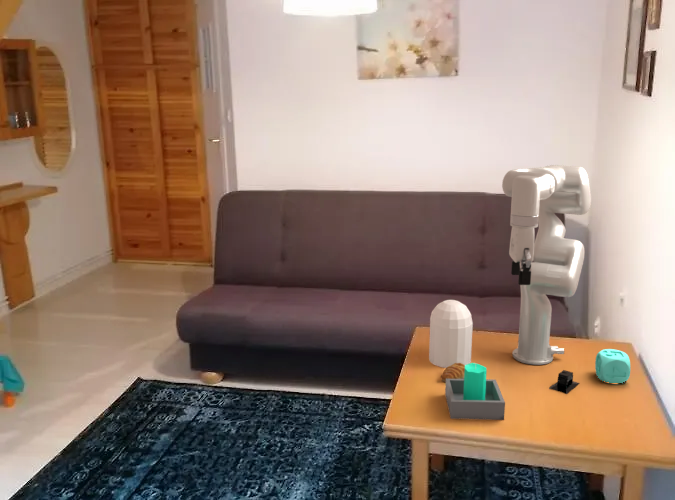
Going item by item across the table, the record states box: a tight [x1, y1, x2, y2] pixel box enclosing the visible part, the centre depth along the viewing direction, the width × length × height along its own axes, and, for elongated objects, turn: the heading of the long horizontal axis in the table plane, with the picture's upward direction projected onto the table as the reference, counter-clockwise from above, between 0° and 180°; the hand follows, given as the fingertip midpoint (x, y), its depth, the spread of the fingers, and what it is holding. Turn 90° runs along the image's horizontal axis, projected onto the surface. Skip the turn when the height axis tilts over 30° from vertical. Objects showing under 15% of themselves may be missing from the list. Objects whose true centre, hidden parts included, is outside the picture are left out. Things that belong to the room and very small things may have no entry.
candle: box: [463, 362, 487, 400], centre depth 182 cm, size 6×6×12 cm
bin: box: [444, 378, 506, 421], centre depth 182 cm, size 14×14×5 cm
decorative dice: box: [594, 348, 631, 384], centre depth 199 cm, size 8×8×8 cm
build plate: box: [548, 369, 580, 395], centre depth 195 cm, size 12×7×5 cm, turn 138°
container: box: [428, 299, 474, 369], centre depth 212 cm, size 13×13×20 cm
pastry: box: [441, 363, 465, 383], centre depth 201 cm, size 9×7×4 cm
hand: (520, 279), depth 189 cm, fingers open, 9 cm apart
